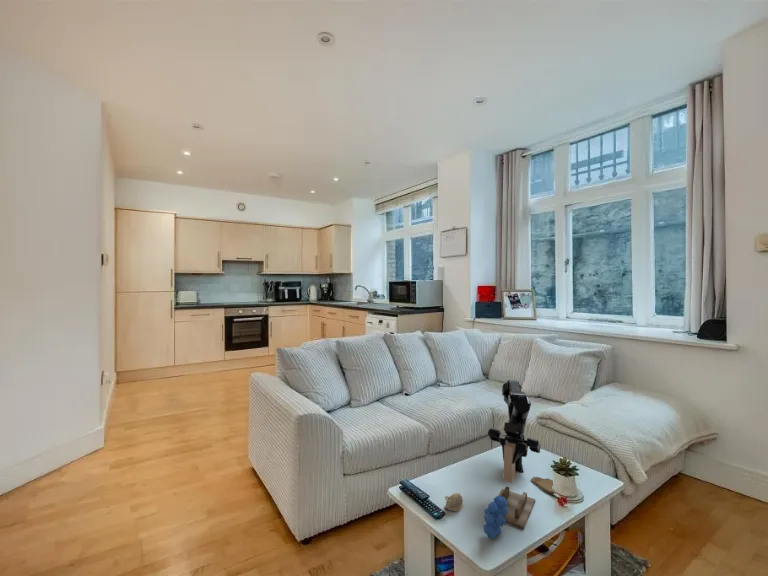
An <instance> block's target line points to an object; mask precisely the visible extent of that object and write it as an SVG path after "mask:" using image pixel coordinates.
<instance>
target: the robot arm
mask: <svg viewBox="0 0 768 576" xmlns="http://www.w3.org/2000/svg"><path fill="white" fill-rule="evenodd" d="M501 393H502V394H501V395H502V396H503V401H504V402H505V404H506V405H507V416H508V421H507V422H506V421H505V422H504V426H503V431H504V433H505V434H504V433H501V430H499V429H496V428H493V427H492V428H491V427H490V428H489V429H488V430H487V431H488V432H487V435H488V438H489V439H490V440H491V441H493V442H497V443H499V445H501V448H502V449H501V450H502V451H501V452H502V460H503V461H504V445H505V444H506V443H507V442H509V443H513V444H515V454H514V457H513V461H512V463H513V464H514V463H515V472H518V473H524V465H523V457H524V458H527V456H528V450H530V451H531V452H533V453H537V454H540V453H541V444H540V441H539V440H538V439H536V438H531V437H527V438H526V439H525V435H524V433H525V428H526V423H527V419H528V416H529V412H530V410H531V406H532V403H531V400H530V399H529V397H528V396H527V393H526V392H525V391H523V390H522V385H521V384H520V382H519V380H518V379H517V380H515V379H508V380H507V381H506V382H505V383H504V384H502V387H501Z"/></svg>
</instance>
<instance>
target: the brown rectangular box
mask: <svg viewBox="0 0 768 576" xmlns="http://www.w3.org/2000/svg"><path fill="white" fill-rule="evenodd" d="M514 454H515V444H513V443H509V442H507V443H506V444H505V445H504V460H503V481H505V482H509V483H511V484H512V483H513V481H515V479H516V471H515V463H514V464H513V463H512V461H513V457H514Z"/></svg>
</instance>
